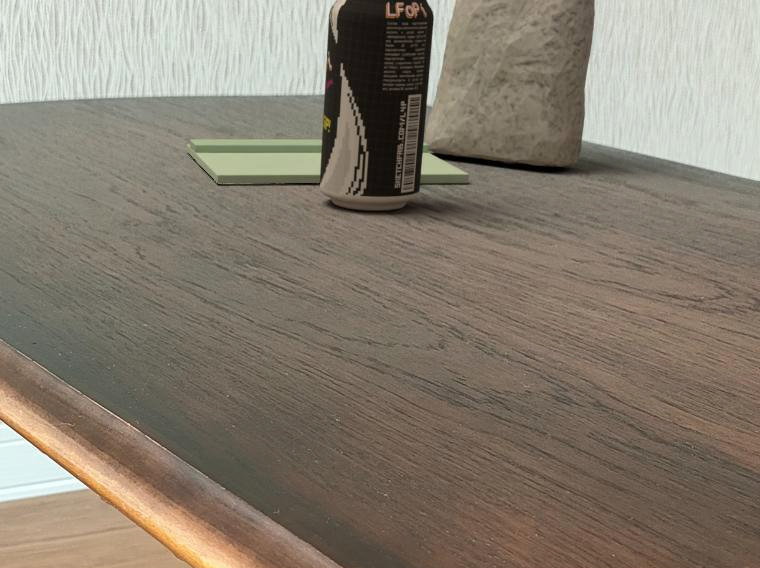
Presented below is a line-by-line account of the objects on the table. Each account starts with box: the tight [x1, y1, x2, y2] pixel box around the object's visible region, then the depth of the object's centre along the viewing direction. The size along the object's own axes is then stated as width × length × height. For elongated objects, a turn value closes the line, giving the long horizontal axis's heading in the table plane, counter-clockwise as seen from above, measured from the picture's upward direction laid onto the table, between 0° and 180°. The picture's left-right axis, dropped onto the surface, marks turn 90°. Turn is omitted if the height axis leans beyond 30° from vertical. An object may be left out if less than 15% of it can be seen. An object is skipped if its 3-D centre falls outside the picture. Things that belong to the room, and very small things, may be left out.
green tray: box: [186, 138, 470, 185], centre depth 94 cm, size 16×12×1 cm
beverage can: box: [319, 0, 435, 212], centre depth 81 cm, size 6×6×12 cm
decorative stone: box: [424, 0, 596, 168], centre depth 96 cm, size 11×6×15 cm, turn 46°
